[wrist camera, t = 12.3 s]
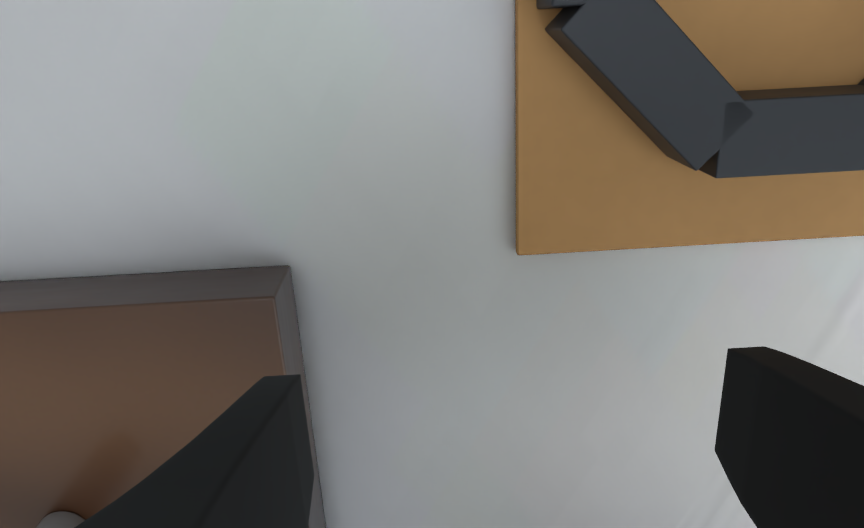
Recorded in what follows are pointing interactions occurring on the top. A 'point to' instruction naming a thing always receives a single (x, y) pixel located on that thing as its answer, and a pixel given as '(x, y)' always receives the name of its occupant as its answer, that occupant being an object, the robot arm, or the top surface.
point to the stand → (129, 379)
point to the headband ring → (706, 96)
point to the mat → (648, 166)
